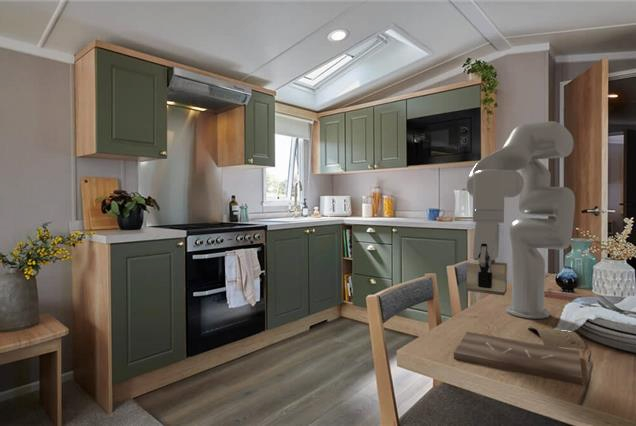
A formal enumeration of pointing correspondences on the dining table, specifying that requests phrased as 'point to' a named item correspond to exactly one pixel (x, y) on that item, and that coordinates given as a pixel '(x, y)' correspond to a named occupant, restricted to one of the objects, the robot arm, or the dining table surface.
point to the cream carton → (497, 278)
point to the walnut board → (521, 357)
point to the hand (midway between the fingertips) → (486, 284)
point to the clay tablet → (560, 338)
